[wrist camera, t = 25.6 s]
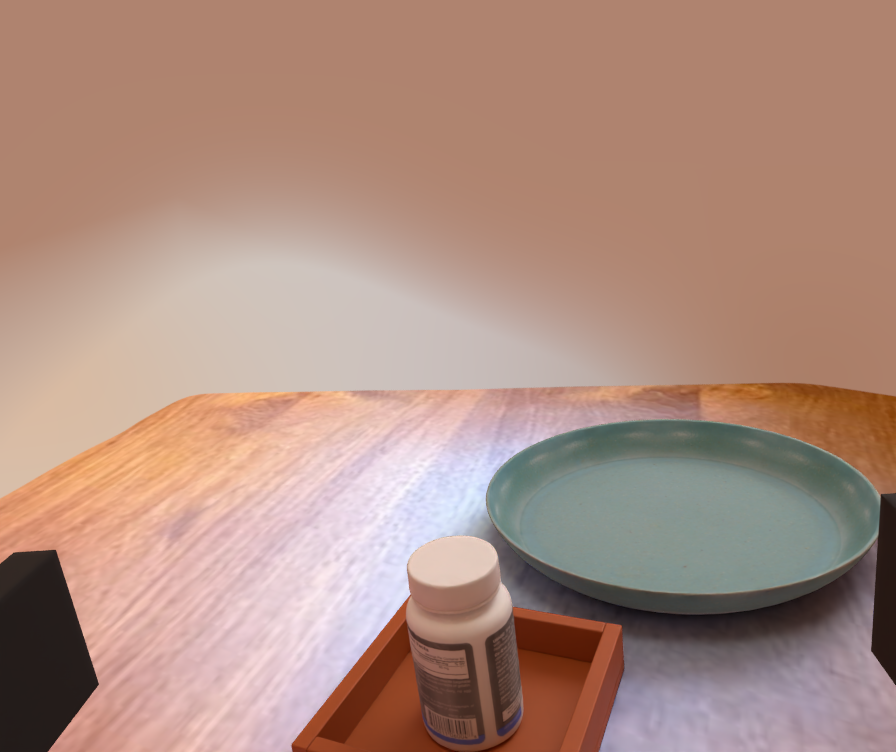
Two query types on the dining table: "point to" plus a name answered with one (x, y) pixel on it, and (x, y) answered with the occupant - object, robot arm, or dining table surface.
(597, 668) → the burnt orange tray
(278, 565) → the dining table surface
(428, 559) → the pill bottle
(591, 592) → the saucer
